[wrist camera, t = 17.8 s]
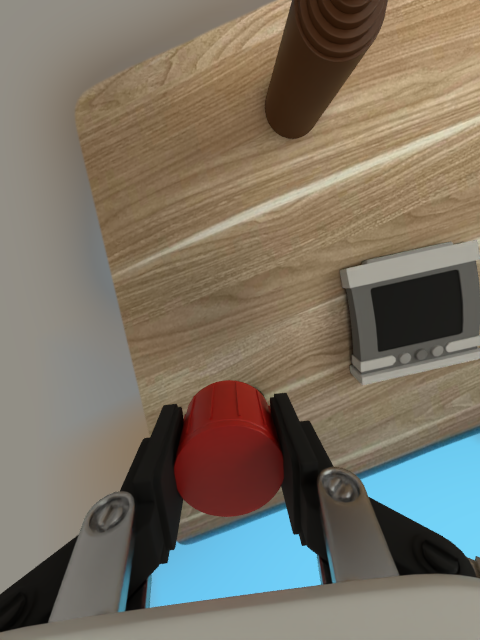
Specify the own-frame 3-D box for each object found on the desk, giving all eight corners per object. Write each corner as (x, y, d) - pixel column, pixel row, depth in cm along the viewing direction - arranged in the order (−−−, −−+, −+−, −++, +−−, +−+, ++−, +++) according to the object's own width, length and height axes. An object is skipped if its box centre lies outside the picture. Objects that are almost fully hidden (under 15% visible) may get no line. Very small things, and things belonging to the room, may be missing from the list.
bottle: (255, 120, 28) (299, -64, 12) (281, 59, 27) (370, -241, 11) (303, 149, 29) (403, 17, 13) (330, 92, 28) (480, -135, 12)
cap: (191, 456, 12) (181, 523, 9) (180, 384, 11) (165, 432, 8) (271, 447, 13) (286, 510, 9) (267, 375, 12) (283, 419, 8)
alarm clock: (362, 385, 34) (357, 268, 29) (346, 368, 39) (339, 263, 33) (482, 358, 34) (500, 236, 29) (453, 344, 39) (463, 236, 33)
